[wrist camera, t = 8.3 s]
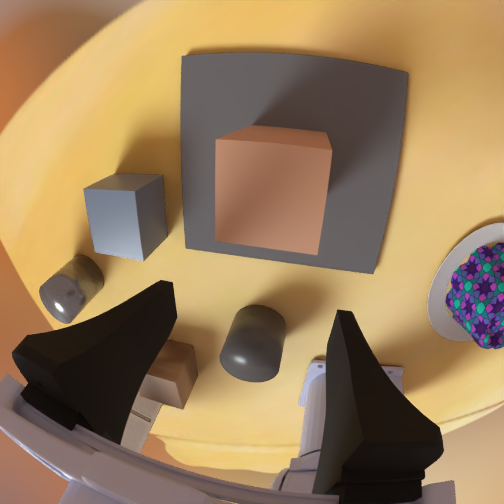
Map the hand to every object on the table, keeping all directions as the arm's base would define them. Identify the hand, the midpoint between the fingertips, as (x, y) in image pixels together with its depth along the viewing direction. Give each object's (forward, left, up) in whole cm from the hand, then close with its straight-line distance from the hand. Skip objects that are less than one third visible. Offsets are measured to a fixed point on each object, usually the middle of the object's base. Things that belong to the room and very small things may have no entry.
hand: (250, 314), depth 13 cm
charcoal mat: (0, -5, -9) cm, 10 cm away
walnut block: (+10, +16, -9) cm, 21 cm away
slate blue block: (+11, -1, -10) cm, 14 cm away
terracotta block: (0, -5, -9) cm, 10 cm away
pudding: (-18, +2, -10) cm, 21 cm away
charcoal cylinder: (+1, +9, -9) cm, 13 cm away
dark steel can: (+19, +7, -9) cm, 22 cm away
